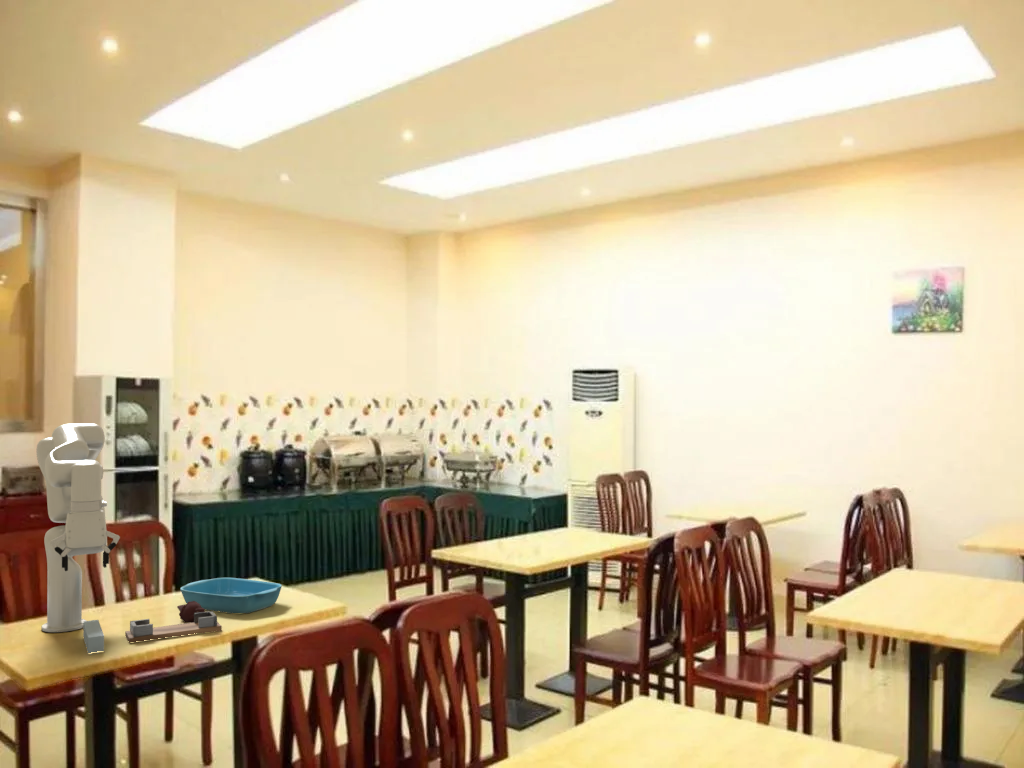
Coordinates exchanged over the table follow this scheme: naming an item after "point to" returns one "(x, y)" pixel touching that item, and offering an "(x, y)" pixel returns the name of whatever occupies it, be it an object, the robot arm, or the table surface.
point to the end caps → (146, 628)
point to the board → (173, 631)
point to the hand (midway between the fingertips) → (85, 568)
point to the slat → (93, 636)
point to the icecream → (189, 611)
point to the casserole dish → (232, 594)
